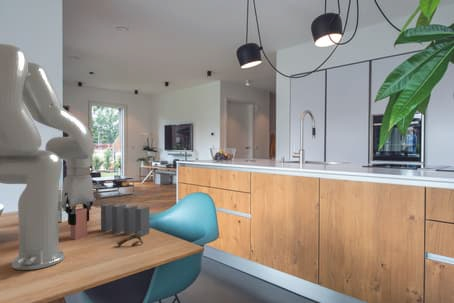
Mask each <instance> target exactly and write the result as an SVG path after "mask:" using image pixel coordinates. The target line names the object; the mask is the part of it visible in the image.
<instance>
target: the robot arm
mask: <svg viewBox="0 0 454 303" xmlns="http://www.w3.org/2000/svg"><path fill="white" fill-rule="evenodd" d="M56 92H57V91H56V90H55V88H54V86H53V83H52V81H51V80H50V77H49V76H48V73H47V71H46V69H44V67H42V65H40V64H39V63H35V62H28V57H27V55H26V54H25V52H24V50H22V49H21V48H19V47H17V46H15V45H11V44H6V43H4V44H3V43H0V184H4V185H5V184H6V185H26V186H25V188H23V191H22V192H21V194H20V196H19V198H18V202H17V209H18V210H17V215H18V223H17V224H18V257H16V258H14V259H13V260H12V262H11V267H12V268H13V269H15V270H17V271H18V270H19V271H30V270H32V271H33V270H38V269H43V268H47V267H50V266H54V265H57V264H58V263H60V262H61V261H63V260H64V259H65V257H66V256H65V255H66V253H65V251H63V250H60V249H59V247H60V245H59V243H60V242H59V240H60V239H59V236H60V235H59V222H58V188H60V187H59V186H60V180H61V175H62V170H63V162H62V160H66V176H65V177H64V178H63V183H62V187H61V188H62V202H61V203H60V205H59V207H60V208H62V209H63V210H64V211H65V212H66V213H67V214H68V220H67V223H68V225H69V226H71V225H76V214H74V213H75V210H76V208H77V206H78V205H81V206H82V207H81V208H86V209H87V222H89V221H90V210H92V206H93V205H94V203H95V202H96V200H97V197H96V196H95V195H94V184H93V179H92V175H91V172H92V168H91V158H92V156H93V155H94V153H95V144H94V140H93V138H92V134H91V132H90V130H89V128H88V127H87V125H86V124H85V123H84V122H83V121H82V120H81V119H79V118H78V117H77V116H76V115H74V114H73V113H72V112H70V111H68V110H66V109H65V108H64V107H63V104H62V103H61V101H60V99H59V97H58V93H56ZM34 121H36V123H39V124H41V125H44V126H47V127H49V128H51V129H52V128H53V129H55V130H58V131H61V132H63V133H65V134H67V135H69V136H54V137H52V138H50V139H49V140H48V141H47V142H46V143H45V149H44V150H43V149H40V148H41V146H42V136H41V134H40V132H39V129H38V128H37V126H36V124H35V122H34ZM67 204H68V206H66V205H67Z"/></svg>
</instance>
